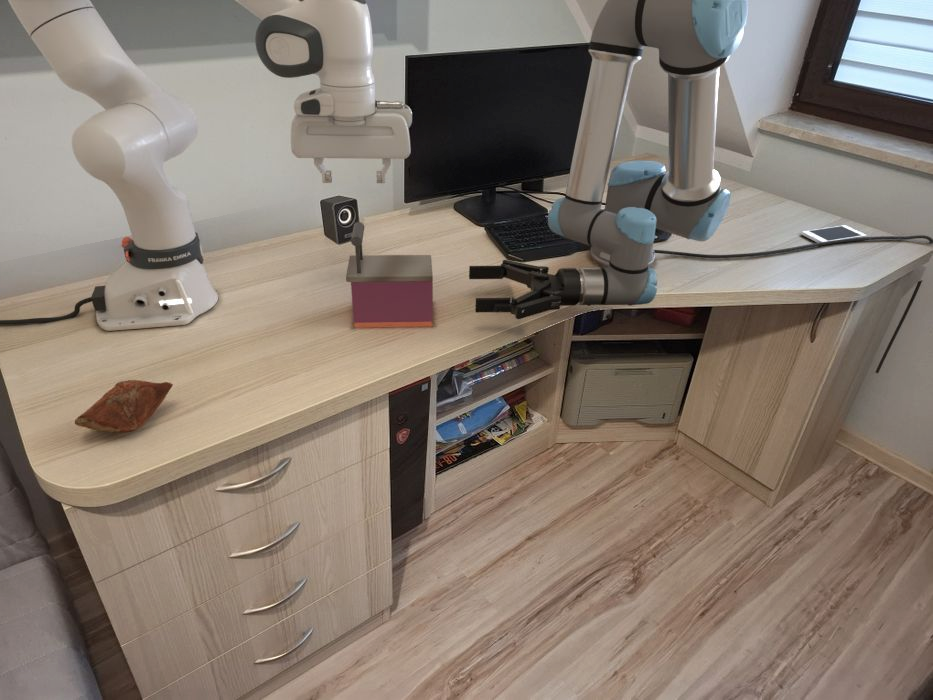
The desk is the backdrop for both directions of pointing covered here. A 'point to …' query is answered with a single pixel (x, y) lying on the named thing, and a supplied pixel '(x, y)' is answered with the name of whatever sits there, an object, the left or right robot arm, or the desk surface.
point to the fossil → (125, 406)
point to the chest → (392, 304)
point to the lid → (385, 264)
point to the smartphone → (832, 234)
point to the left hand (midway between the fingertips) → (354, 182)
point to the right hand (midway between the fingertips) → (472, 288)
